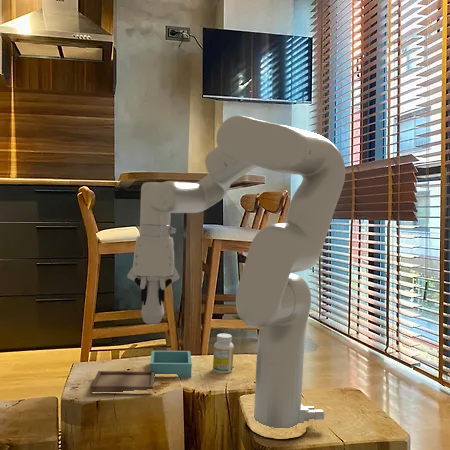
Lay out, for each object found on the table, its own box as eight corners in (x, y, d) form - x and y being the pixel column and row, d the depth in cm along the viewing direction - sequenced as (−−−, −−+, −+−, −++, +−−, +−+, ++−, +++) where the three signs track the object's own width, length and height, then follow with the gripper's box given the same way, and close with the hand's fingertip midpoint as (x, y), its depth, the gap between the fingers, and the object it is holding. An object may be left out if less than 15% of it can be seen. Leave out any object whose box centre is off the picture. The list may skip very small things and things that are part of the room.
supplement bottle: (222, 375, 127) (223, 339, 127) (208, 369, 131) (210, 334, 131) (236, 371, 131) (238, 336, 130) (223, 365, 135) (224, 331, 134)
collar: (189, 363, 135) (190, 351, 135) (191, 377, 125) (191, 364, 125) (151, 363, 134) (151, 350, 134) (149, 377, 124) (149, 363, 123)
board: (154, 378, 123) (154, 371, 123) (152, 394, 113) (152, 386, 113) (98, 377, 122) (98, 370, 122) (91, 394, 112) (91, 386, 112)
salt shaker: (161, 325, 120) (163, 273, 119) (138, 324, 120) (140, 272, 120) (165, 319, 126) (167, 270, 125) (143, 318, 126) (145, 268, 125)
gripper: (187, 231, 126) (185, 302, 127) (124, 229, 125) (122, 300, 126) (187, 233, 119) (184, 308, 119) (119, 231, 117) (117, 306, 118)
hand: (152, 303), depth 123 cm, fingers closed on salt shaker, 3 cm apart
